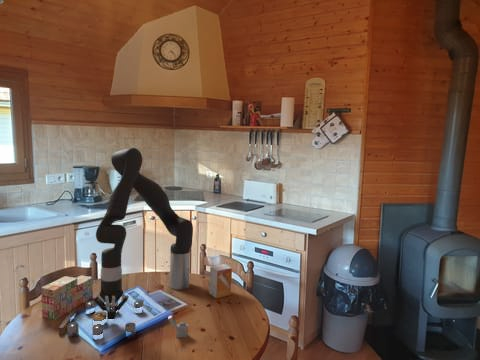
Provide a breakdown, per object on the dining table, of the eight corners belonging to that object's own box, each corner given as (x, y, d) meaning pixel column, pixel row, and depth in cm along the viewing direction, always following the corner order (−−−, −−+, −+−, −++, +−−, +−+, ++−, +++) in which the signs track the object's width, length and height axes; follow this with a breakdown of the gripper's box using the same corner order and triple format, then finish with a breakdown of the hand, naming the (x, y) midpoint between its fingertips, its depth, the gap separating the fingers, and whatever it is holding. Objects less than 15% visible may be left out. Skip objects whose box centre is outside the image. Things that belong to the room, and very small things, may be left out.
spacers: (143, 309, 153) (143, 300, 153) (134, 339, 131) (134, 329, 131) (84, 310, 151) (84, 300, 150) (64, 340, 129) (64, 330, 128)
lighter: (187, 334, 136) (188, 314, 135) (187, 337, 134) (188, 316, 133) (167, 335, 135) (168, 314, 134) (167, 338, 133) (168, 317, 132)
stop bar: (77, 313, 148) (77, 307, 147) (63, 334, 133) (63, 327, 132) (73, 313, 147) (73, 307, 147) (58, 334, 133) (58, 327, 132)
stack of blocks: (81, 295, 164) (81, 268, 163) (93, 297, 162) (93, 270, 161) (41, 317, 144) (41, 286, 143) (54, 320, 142) (53, 289, 141)
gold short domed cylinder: (108, 319, 144) (108, 311, 144) (104, 326, 139) (104, 317, 139) (94, 319, 144) (94, 311, 143) (90, 326, 139) (90, 317, 138)
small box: (216, 298, 166) (217, 270, 164) (208, 293, 171) (209, 266, 169) (231, 294, 171) (232, 267, 169) (223, 289, 176) (224, 263, 174)
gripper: (131, 272, 144) (131, 315, 146) (95, 272, 142) (96, 315, 144) (127, 280, 136) (127, 324, 138) (90, 280, 135) (90, 325, 137)
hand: (111, 320), depth 141 cm, fingers closed
